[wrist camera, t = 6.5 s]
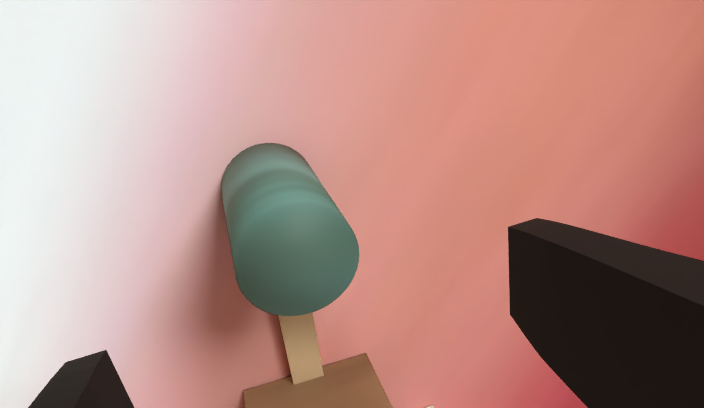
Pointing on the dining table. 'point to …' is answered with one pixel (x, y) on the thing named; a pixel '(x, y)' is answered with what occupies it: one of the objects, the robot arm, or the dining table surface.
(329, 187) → the dining table surface
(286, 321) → the green and brown toy
